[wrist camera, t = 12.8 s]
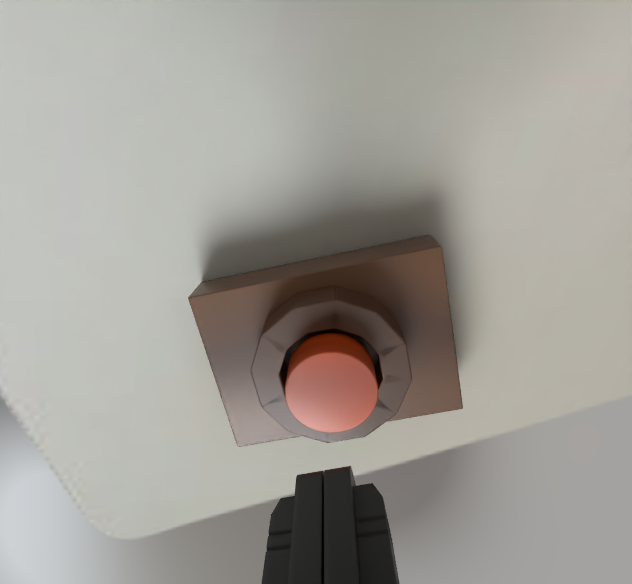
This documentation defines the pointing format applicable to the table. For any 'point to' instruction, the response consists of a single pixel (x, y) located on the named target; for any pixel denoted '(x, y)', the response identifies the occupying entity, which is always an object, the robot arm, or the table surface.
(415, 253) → the button block
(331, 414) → the button
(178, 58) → the table surface
